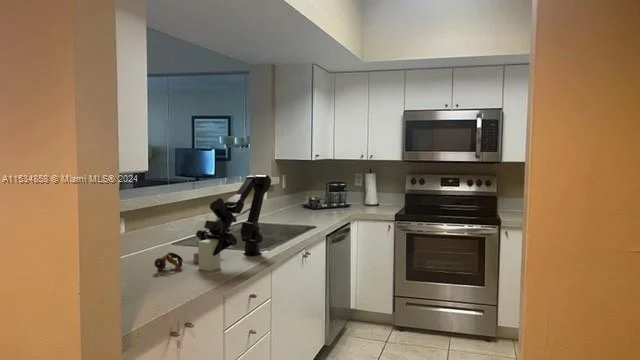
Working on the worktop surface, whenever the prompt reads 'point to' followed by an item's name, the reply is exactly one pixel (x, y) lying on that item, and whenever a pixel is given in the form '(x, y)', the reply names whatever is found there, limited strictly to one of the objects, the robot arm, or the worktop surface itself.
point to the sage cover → (208, 255)
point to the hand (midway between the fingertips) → (207, 254)
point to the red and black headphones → (170, 260)
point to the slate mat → (196, 263)
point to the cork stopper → (196, 257)
